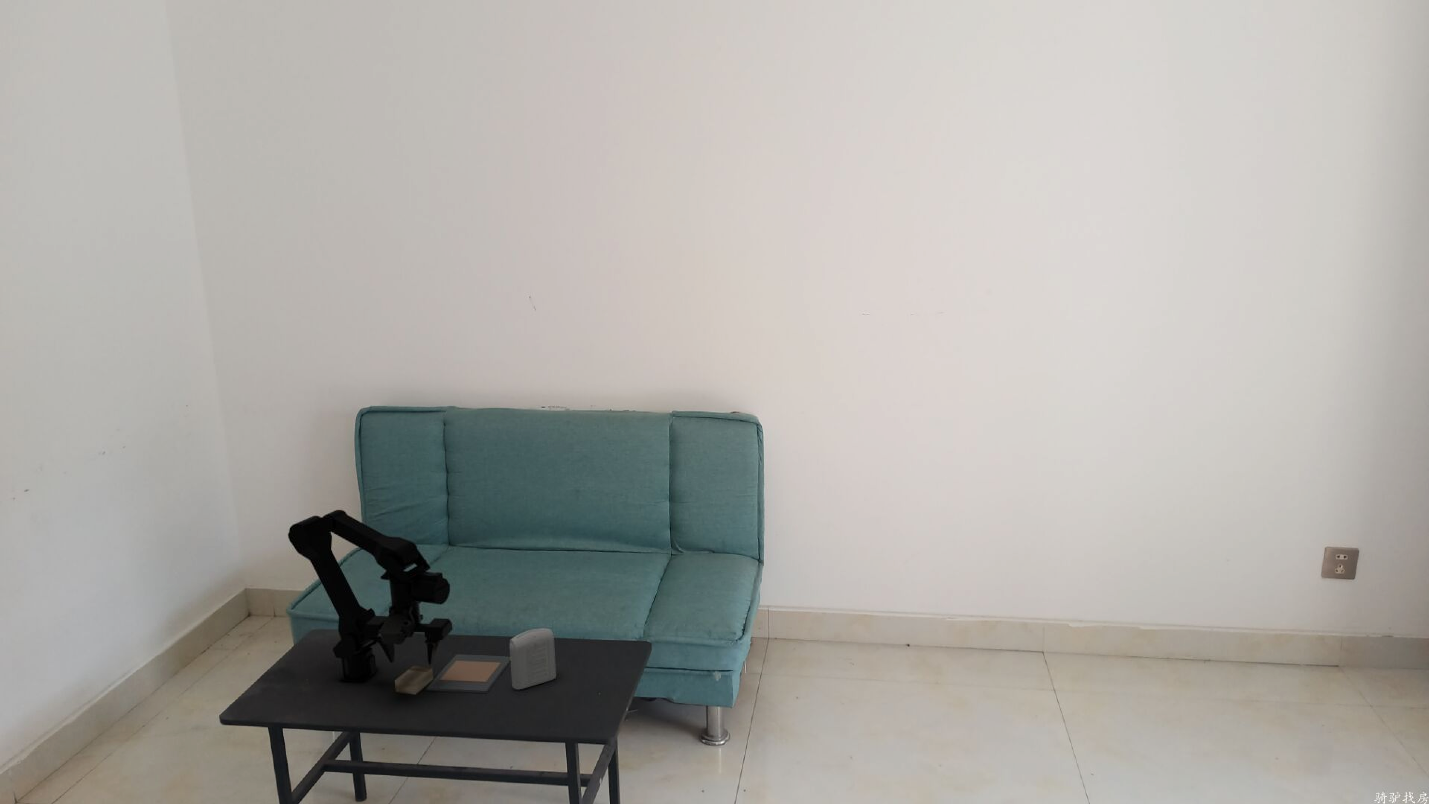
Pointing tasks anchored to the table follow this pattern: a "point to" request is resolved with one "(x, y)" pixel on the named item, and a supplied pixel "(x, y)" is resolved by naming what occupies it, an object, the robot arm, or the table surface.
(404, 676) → the tan beveled box
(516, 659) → the grey rounded block
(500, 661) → the rubber mat
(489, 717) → the table surface
